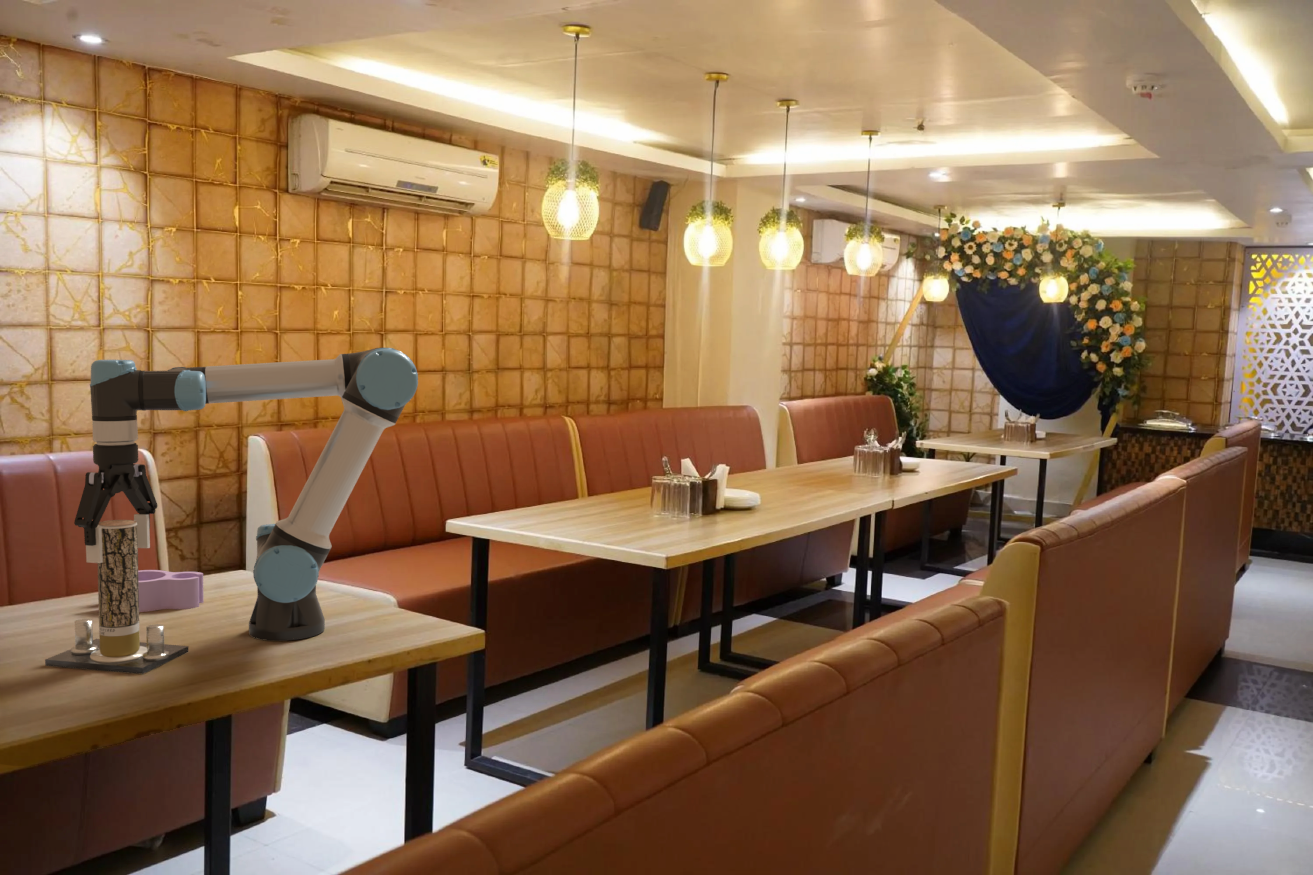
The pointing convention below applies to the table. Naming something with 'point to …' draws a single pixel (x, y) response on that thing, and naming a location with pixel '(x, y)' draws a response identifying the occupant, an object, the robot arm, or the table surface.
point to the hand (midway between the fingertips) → (119, 554)
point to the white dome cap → (101, 658)
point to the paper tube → (118, 589)
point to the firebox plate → (130, 666)
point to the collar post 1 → (83, 638)
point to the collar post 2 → (155, 643)
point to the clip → (169, 590)
